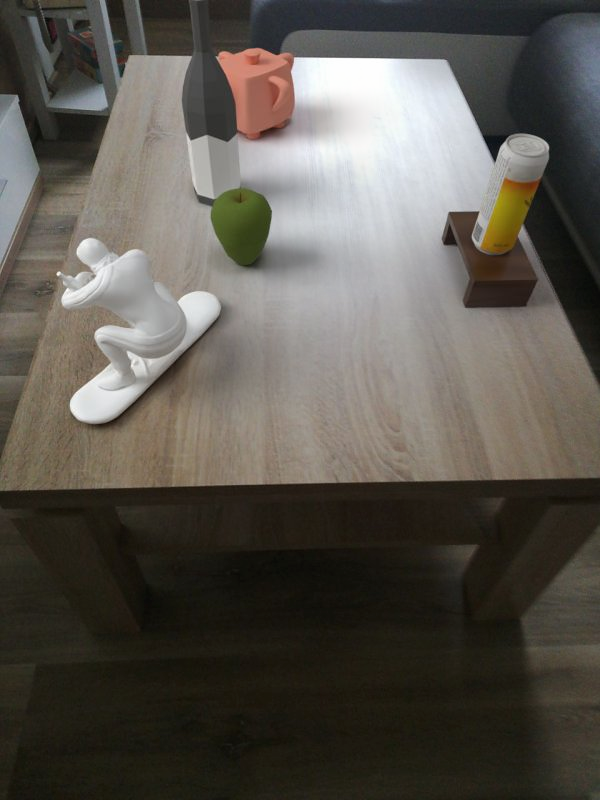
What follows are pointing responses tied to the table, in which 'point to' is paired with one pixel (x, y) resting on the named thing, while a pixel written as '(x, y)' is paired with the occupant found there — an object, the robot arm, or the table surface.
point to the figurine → (145, 311)
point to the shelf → (490, 267)
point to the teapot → (260, 88)
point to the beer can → (510, 192)
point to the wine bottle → (209, 115)
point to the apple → (241, 223)
